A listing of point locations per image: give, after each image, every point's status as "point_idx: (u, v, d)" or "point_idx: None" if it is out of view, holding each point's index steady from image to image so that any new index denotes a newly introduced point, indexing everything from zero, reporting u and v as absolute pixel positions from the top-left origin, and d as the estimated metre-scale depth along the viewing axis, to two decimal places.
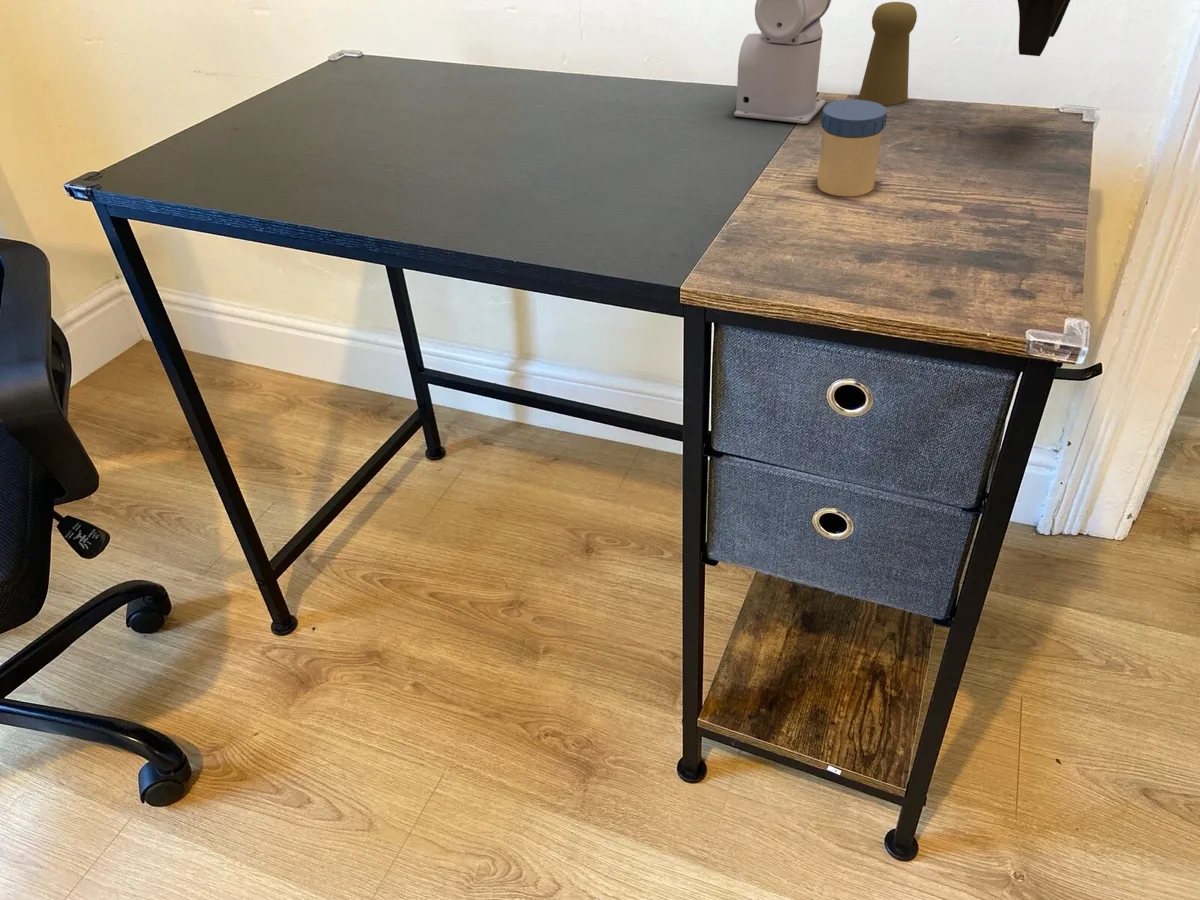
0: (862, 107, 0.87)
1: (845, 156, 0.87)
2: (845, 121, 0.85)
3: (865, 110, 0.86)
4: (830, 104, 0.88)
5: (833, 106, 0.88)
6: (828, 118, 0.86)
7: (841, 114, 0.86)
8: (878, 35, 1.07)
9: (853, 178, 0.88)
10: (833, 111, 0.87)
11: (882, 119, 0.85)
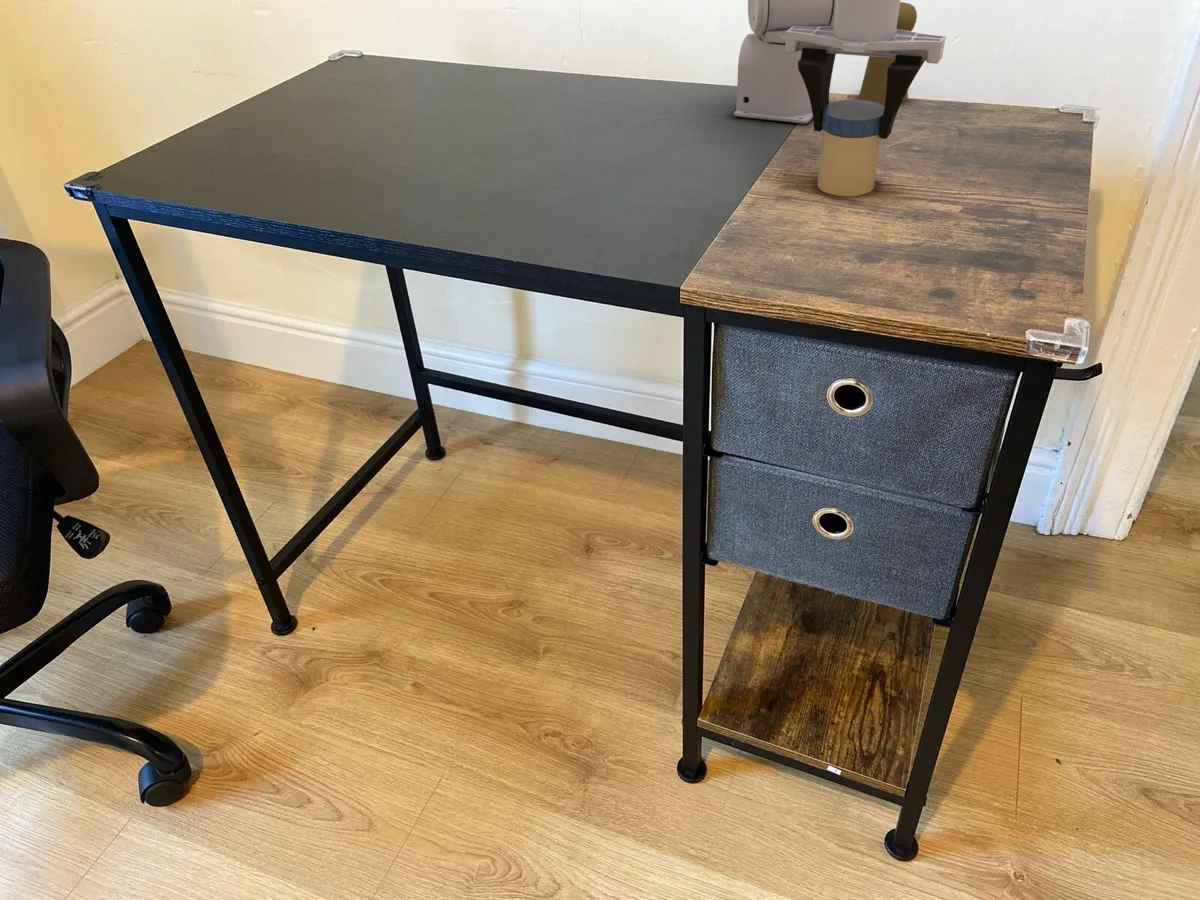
0: (862, 107, 0.87)
1: (845, 156, 0.87)
2: (845, 121, 0.85)
3: (865, 110, 0.86)
4: (830, 104, 0.88)
5: (833, 106, 0.88)
6: (828, 118, 0.86)
7: (841, 114, 0.86)
8: None
9: (853, 178, 0.88)
10: (833, 111, 0.87)
11: None
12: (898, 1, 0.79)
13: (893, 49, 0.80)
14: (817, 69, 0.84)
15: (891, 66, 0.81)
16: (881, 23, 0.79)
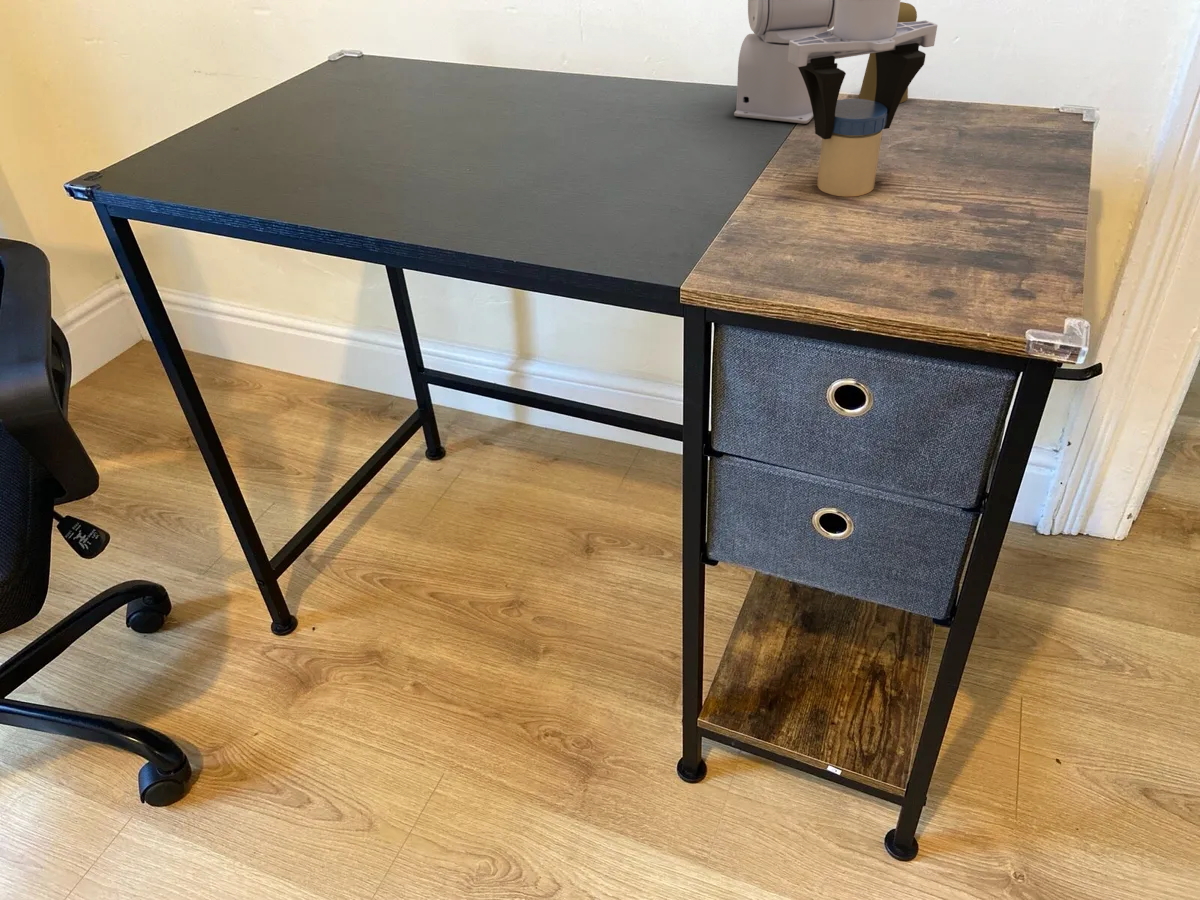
0: (855, 105, 0.87)
1: (845, 156, 0.87)
2: (870, 119, 0.85)
3: (864, 106, 0.87)
4: None
5: None
6: (849, 122, 0.85)
7: (856, 115, 0.85)
8: None
9: (853, 178, 0.88)
10: (845, 115, 0.85)
11: None
12: None
13: (905, 40, 0.82)
14: (842, 75, 0.81)
15: (905, 56, 0.83)
16: (897, 17, 0.80)
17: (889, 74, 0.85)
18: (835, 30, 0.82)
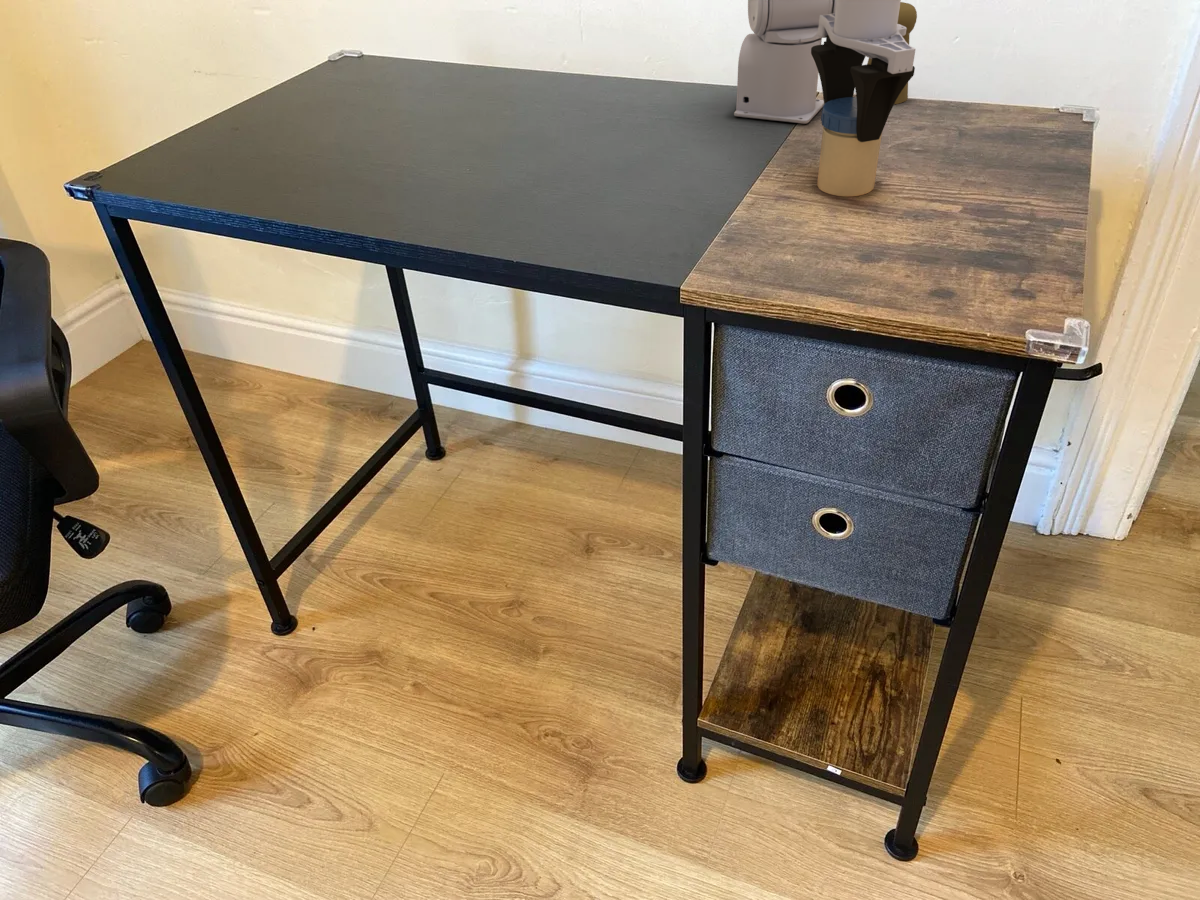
0: (844, 106, 0.87)
1: (846, 156, 0.87)
2: None
3: (849, 103, 0.87)
4: None
5: None
6: None
7: None
8: None
9: (854, 178, 0.88)
10: None
11: None
12: None
13: None
14: None
15: None
16: None
17: (845, 67, 0.87)
18: (876, 33, 0.80)
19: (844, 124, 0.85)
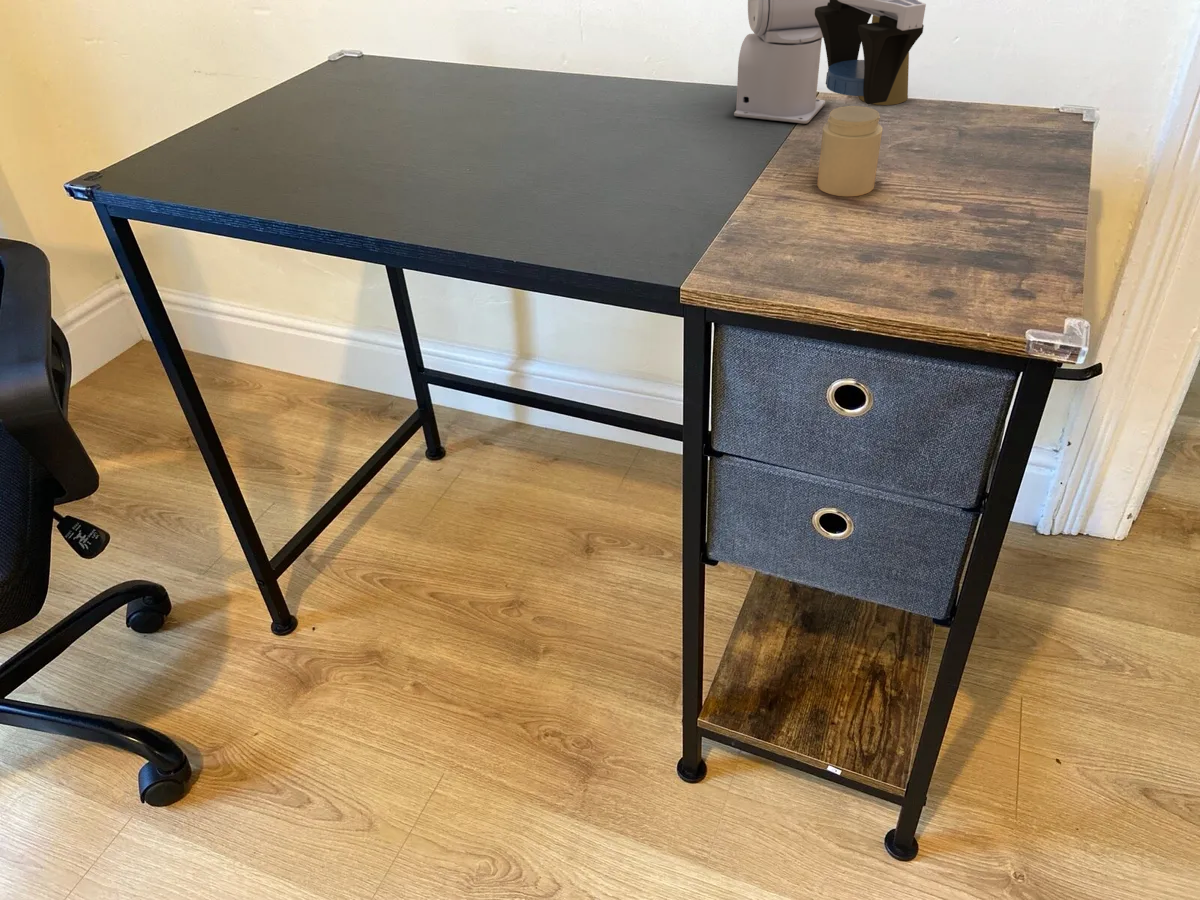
0: (849, 68, 0.85)
1: (846, 156, 0.87)
2: None
3: (854, 66, 0.86)
4: None
5: None
6: None
7: None
8: None
9: (854, 178, 0.88)
10: None
11: None
12: None
13: None
14: None
15: None
16: None
17: (850, 28, 0.85)
18: None
19: (851, 86, 0.83)
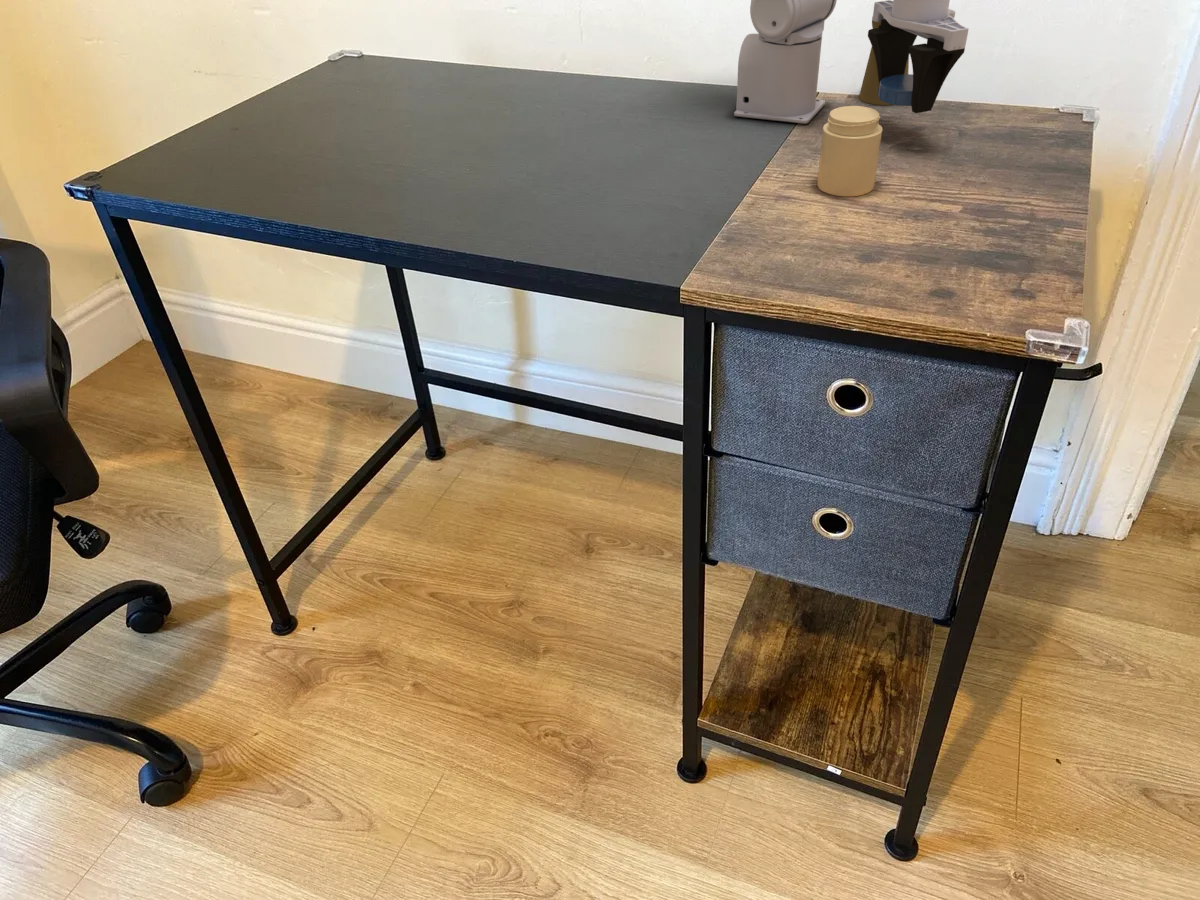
0: (899, 82, 0.98)
1: (846, 156, 0.87)
2: None
3: (902, 80, 0.99)
4: None
5: None
6: None
7: None
8: None
9: (854, 178, 0.88)
10: None
11: None
12: None
13: None
14: None
15: None
16: None
17: (898, 48, 0.99)
18: (931, 16, 0.91)
19: (901, 97, 0.96)
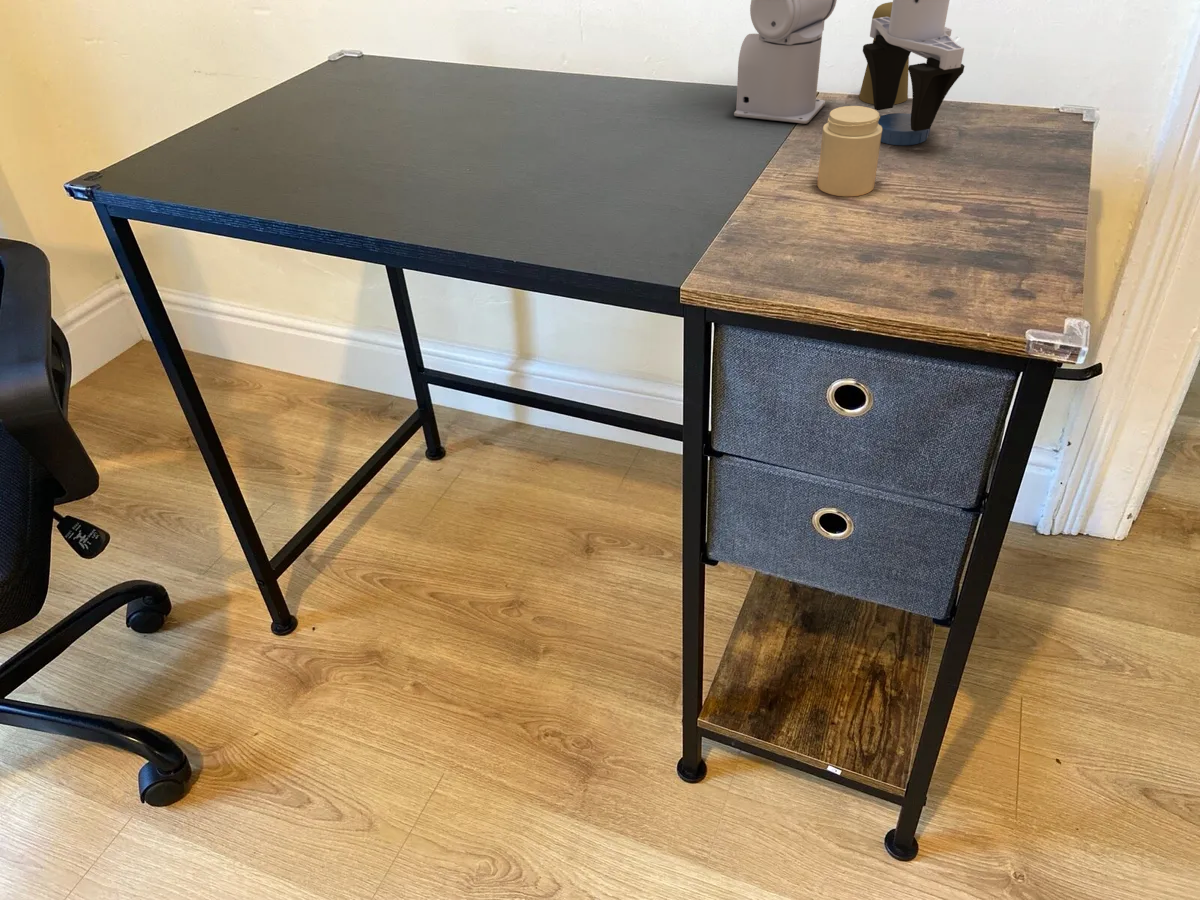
0: (893, 121, 1.01)
1: (846, 156, 0.87)
2: None
3: (896, 119, 1.01)
4: (908, 130, 0.99)
5: None
6: None
7: None
8: None
9: (854, 178, 0.88)
10: None
11: None
12: None
13: None
14: None
15: None
16: None
17: (893, 63, 1.00)
18: (927, 34, 0.92)
19: (895, 137, 0.99)
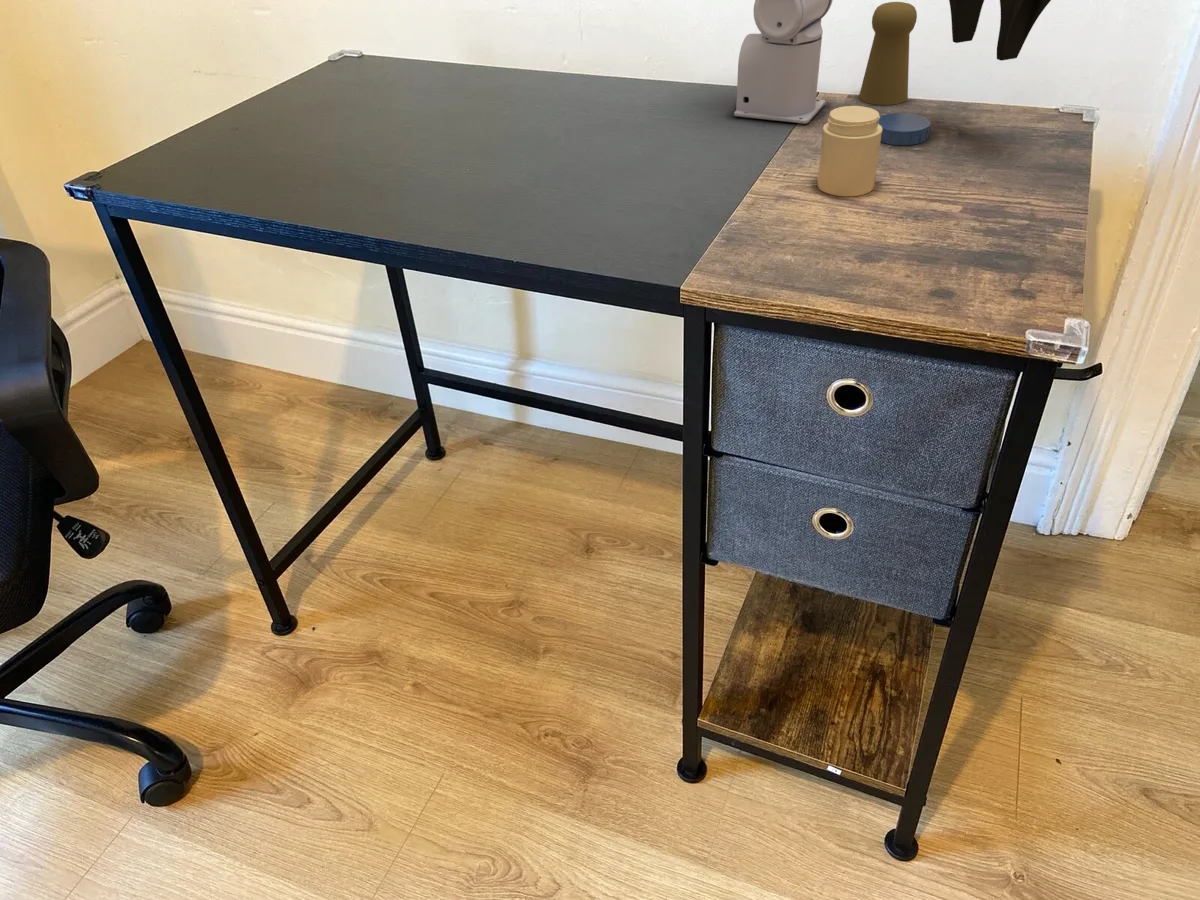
0: (893, 121, 1.01)
1: (846, 156, 0.87)
2: None
3: (896, 119, 1.01)
4: (908, 130, 0.99)
5: (911, 128, 0.99)
6: (929, 126, 1.00)
7: (920, 121, 1.00)
8: (878, 35, 1.07)
9: (854, 178, 0.88)
10: (921, 125, 1.00)
11: None
12: None
13: None
14: None
15: None
16: None
17: None
18: None
19: (895, 137, 0.99)
